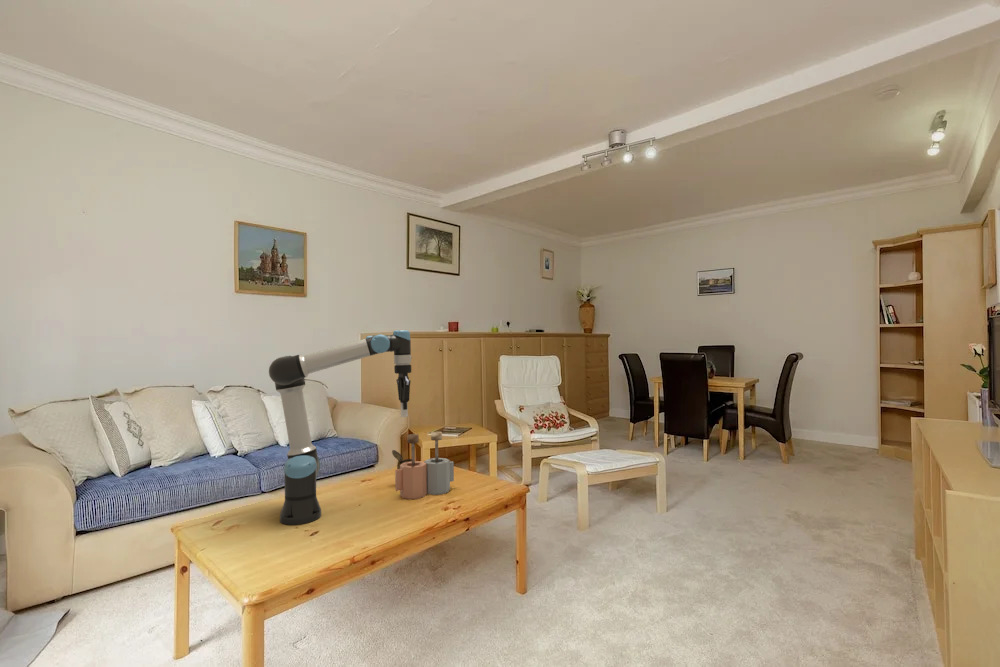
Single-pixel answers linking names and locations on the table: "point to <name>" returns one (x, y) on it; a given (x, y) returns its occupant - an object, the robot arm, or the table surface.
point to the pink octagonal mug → (411, 480)
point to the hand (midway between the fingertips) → (404, 416)
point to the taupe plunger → (413, 444)
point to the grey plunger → (436, 442)
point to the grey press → (439, 475)
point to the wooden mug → (399, 458)
